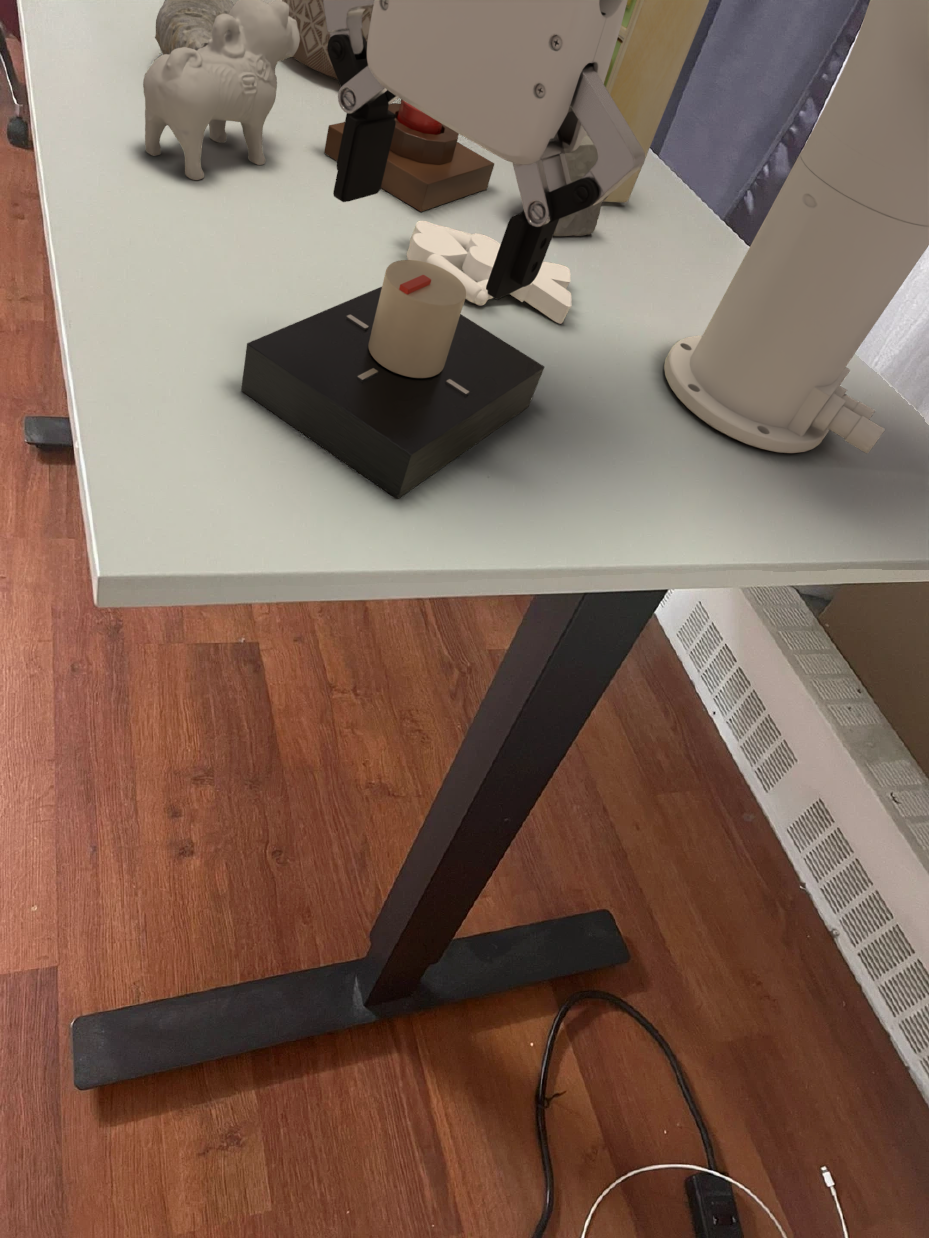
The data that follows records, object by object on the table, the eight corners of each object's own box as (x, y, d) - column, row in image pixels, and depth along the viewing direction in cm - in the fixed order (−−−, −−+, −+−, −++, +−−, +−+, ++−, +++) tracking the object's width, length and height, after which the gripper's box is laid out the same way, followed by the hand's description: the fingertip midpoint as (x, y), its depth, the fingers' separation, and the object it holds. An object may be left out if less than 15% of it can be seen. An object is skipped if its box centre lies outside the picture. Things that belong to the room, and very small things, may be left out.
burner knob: (399, 324, 53) (419, 247, 49) (458, 362, 52) (483, 286, 48) (352, 346, 50) (370, 266, 46) (414, 388, 49) (437, 308, 45)
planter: (267, 29, 88) (282, -100, 81) (391, 58, 93) (415, -62, 86) (285, 81, 81) (303, -56, 73) (418, 109, 85) (448, -17, 78)
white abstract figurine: (414, 222, 68) (424, 195, 66) (557, 285, 71) (569, 261, 69) (401, 276, 62) (411, 248, 60) (558, 343, 64) (572, 317, 63)
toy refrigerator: (522, 157, 84) (611, -119, 69) (584, 163, 88) (681, -97, 73) (564, 200, 80) (668, -83, 65) (627, 205, 84) (739, -62, 69)
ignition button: (448, 134, 73) (454, 111, 72) (423, 140, 71) (428, 117, 70) (413, 114, 74) (419, 91, 73) (387, 120, 72) (392, 96, 70)
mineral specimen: (515, 178, 79) (565, 91, 73) (588, 243, 79) (643, 161, 73) (475, 192, 74) (525, 100, 68) (553, 262, 74) (610, 176, 68)
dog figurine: (300, 155, 71) (324, 3, 64) (186, 187, 63) (198, 14, 55) (248, 125, 72) (265, -29, 65) (128, 152, 63) (132, -22, 56)
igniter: (487, 189, 77) (501, 141, 75) (420, 212, 71) (433, 160, 68) (396, 136, 79) (407, 87, 77) (323, 153, 73) (332, 101, 70)
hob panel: (391, 319, 59) (403, 275, 56) (528, 407, 56) (546, 364, 54) (240, 390, 49) (247, 340, 47) (397, 499, 47) (411, 452, 45)
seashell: (254, 19, 80) (240, -76, 73) (236, 134, 76) (219, 45, 68) (182, 12, 80) (160, -85, 72) (159, 127, 75) (134, 37, 68)
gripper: (779, -86, 35) (600, 309, 47) (428, -257, 38) (345, 152, 50) (713, -97, 30) (530, 351, 41) (313, -294, 33) (251, 172, 45)
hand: (429, 242), depth 46 cm, fingers open, 9 cm apart
